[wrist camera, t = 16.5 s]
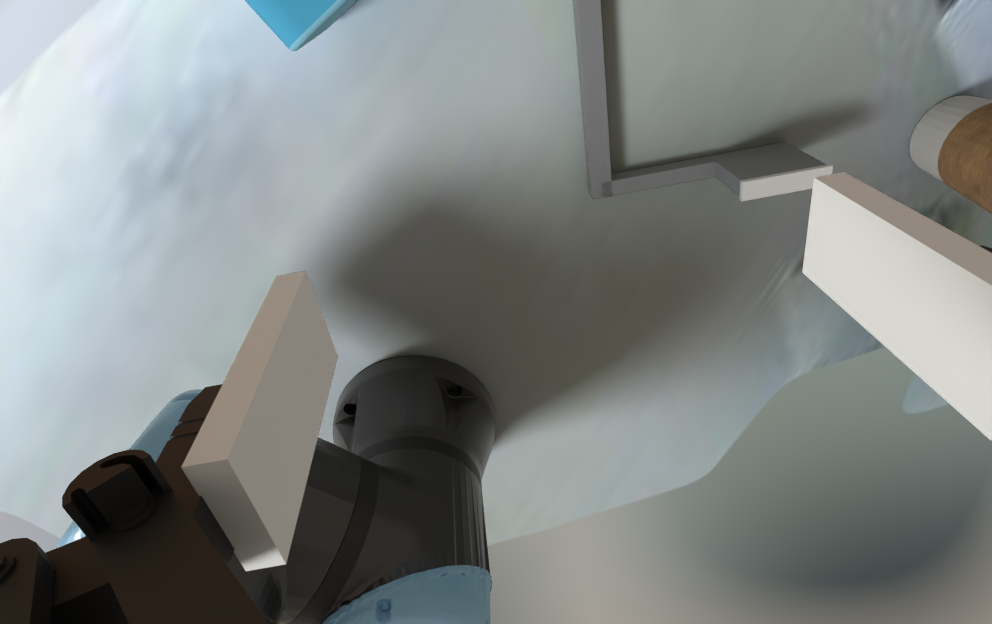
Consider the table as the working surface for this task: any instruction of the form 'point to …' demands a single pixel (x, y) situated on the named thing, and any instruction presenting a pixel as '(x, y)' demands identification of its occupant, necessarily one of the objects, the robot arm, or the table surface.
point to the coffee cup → (957, 146)
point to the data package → (299, 18)
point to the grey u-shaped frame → (738, 170)
